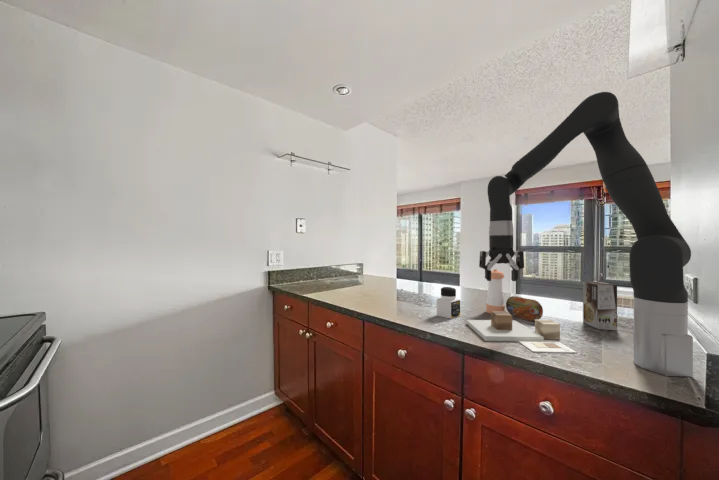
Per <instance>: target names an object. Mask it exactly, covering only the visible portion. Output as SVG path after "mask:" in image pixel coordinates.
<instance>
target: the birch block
mask: <svg viewBox="0 0 719 480" xmlns="http://www.w3.org/2000/svg"><path fill="white" fill-rule="evenodd" d="M534 332H536V333H538V334H539V335H541V336H543V337H544V340H561V324H560V323H558V322H556V321H554V320H552V319H539V320H535V321H534Z"/></svg>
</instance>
